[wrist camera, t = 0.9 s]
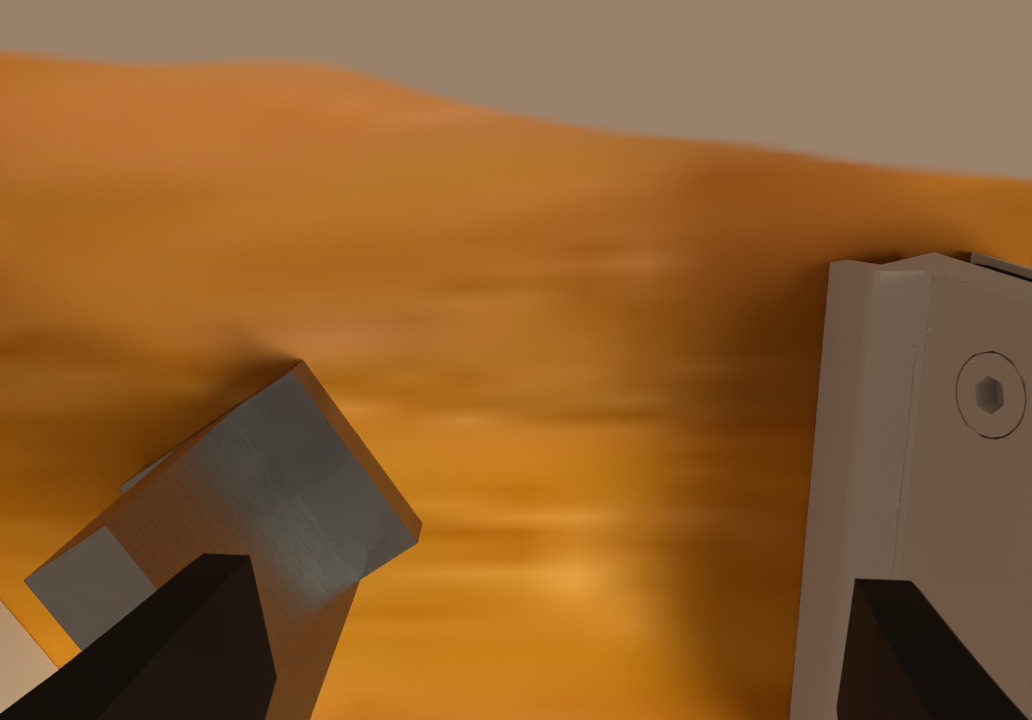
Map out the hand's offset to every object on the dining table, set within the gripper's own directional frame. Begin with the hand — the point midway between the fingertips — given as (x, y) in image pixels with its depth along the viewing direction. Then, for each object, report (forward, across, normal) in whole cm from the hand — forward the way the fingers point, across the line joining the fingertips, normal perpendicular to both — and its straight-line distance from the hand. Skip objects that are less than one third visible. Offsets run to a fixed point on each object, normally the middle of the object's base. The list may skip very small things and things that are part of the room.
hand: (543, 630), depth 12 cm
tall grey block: (+14, +9, +8) cm, 19 cm away
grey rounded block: (+16, -10, +10) cm, 22 cm away
